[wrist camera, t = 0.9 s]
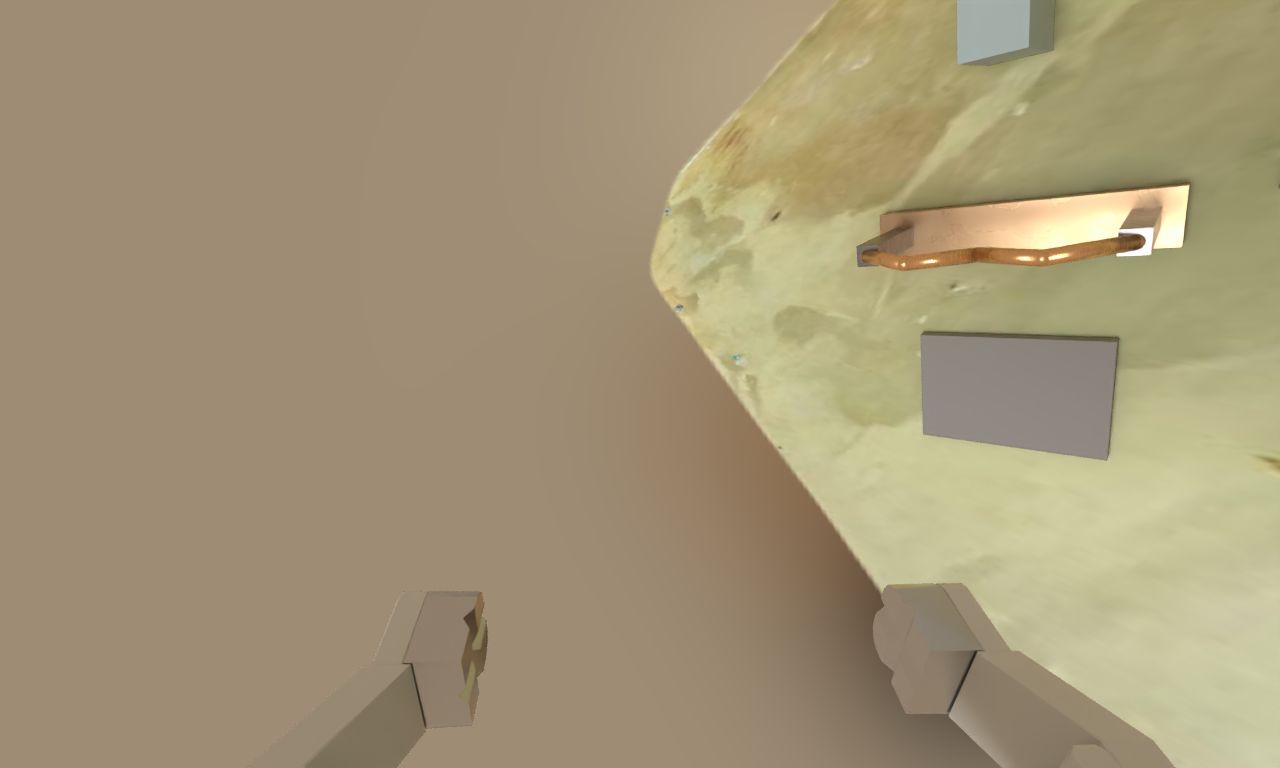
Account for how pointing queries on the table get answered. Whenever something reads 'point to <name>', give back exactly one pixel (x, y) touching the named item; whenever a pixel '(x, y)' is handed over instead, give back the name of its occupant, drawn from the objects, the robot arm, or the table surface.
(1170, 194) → the wire frame
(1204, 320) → the table surface
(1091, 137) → the table surface
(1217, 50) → the table surface
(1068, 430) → the pad
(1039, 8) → the block
